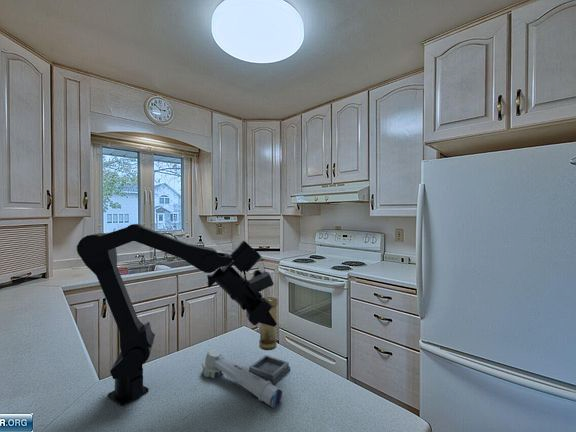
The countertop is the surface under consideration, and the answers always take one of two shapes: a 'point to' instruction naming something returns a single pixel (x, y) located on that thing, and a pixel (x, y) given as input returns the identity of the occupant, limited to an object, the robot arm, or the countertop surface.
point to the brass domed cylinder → (269, 328)
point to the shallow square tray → (270, 368)
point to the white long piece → (241, 377)
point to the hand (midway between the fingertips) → (273, 322)
